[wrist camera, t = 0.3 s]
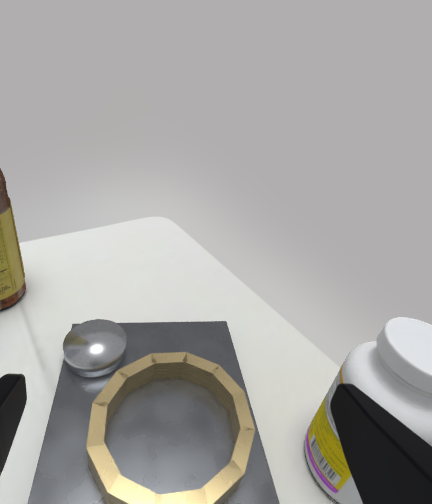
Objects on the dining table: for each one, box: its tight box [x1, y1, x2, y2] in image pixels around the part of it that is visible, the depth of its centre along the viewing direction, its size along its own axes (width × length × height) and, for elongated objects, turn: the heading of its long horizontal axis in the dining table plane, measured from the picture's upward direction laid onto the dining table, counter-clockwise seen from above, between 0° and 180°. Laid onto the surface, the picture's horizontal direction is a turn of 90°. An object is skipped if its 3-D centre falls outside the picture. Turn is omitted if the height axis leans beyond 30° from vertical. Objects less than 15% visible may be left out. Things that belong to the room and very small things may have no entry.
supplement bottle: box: [305, 317, 432, 504], centre depth 21 cm, size 7×7×13 cm
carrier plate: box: [28, 319, 279, 504], centre depth 24 cm, size 19×15×3 cm
